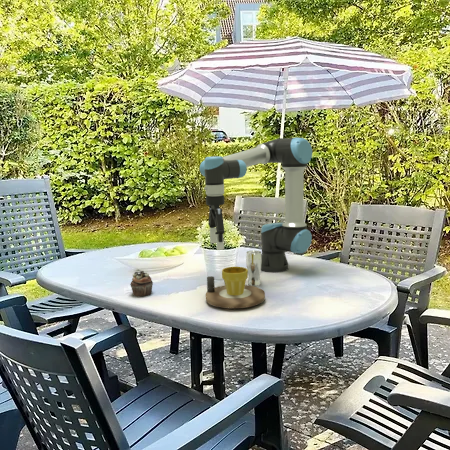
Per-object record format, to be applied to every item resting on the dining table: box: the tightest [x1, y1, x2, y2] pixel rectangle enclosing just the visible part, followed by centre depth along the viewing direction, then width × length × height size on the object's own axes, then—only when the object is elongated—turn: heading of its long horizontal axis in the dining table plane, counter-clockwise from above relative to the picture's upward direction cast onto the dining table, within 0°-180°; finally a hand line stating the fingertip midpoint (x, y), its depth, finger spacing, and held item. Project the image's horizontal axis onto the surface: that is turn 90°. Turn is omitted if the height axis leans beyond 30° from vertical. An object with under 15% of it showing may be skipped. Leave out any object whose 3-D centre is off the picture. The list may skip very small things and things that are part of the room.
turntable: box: [205, 275, 266, 309], centre depth 192 cm, size 24×24×8 cm
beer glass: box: [245, 249, 262, 287], centre depth 214 cm, size 7×7×15 cm
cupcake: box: [130, 270, 154, 298], centre depth 205 cm, size 10×10×10 cm
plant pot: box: [221, 266, 248, 296], centre depth 192 cm, size 10×10×10 cm
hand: (216, 246), depth 196 cm, fingers open, 13 cm apart
